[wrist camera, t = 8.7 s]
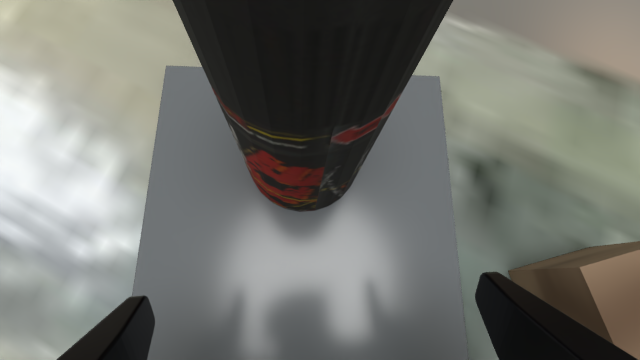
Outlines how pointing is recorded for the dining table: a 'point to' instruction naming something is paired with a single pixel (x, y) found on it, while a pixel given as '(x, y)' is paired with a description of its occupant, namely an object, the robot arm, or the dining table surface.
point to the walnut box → (592, 290)
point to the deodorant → (308, 83)
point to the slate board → (299, 244)
